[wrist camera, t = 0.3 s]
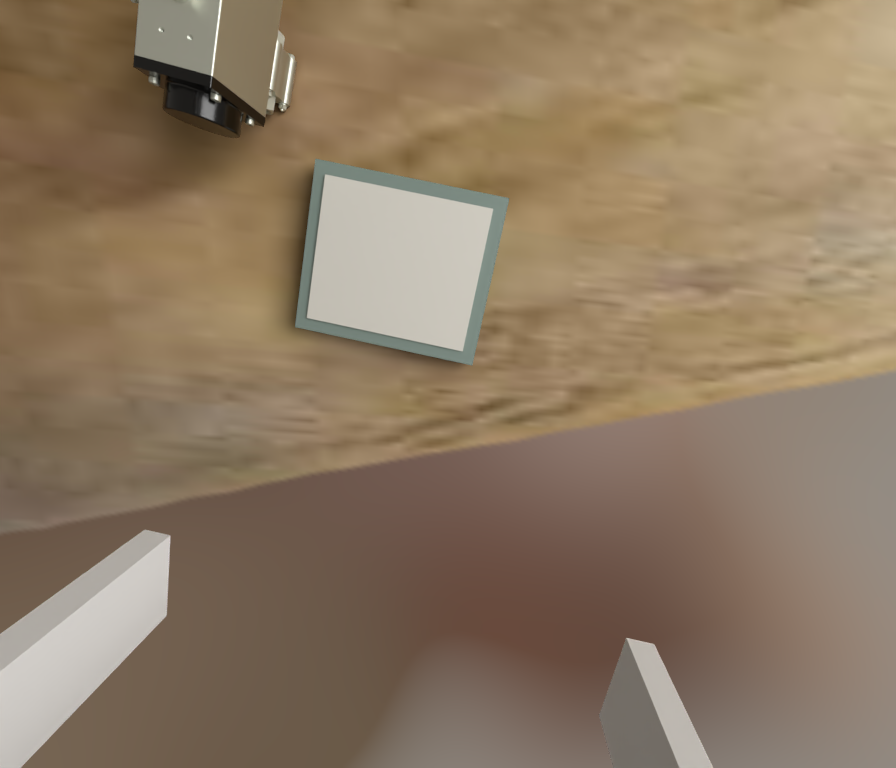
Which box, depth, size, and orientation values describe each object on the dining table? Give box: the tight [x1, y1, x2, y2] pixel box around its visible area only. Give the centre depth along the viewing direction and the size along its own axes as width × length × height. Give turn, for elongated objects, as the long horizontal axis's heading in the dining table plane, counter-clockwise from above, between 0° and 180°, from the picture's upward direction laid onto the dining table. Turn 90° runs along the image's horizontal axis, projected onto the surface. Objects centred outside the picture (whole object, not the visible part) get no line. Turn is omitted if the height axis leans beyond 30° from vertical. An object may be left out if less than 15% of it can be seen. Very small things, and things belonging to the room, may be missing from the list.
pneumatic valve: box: [131, 0, 297, 138], centre depth 28 cm, size 6×12×12 cm, turn 165°
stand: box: [295, 159, 509, 365], centre depth 35 cm, size 13×15×3 cm
